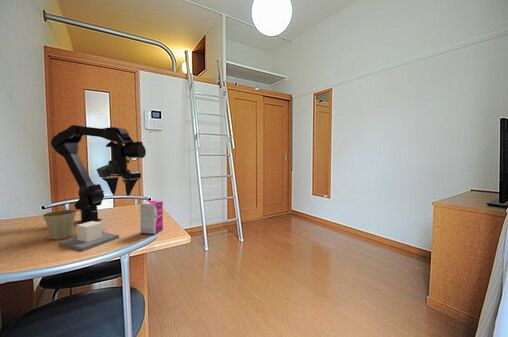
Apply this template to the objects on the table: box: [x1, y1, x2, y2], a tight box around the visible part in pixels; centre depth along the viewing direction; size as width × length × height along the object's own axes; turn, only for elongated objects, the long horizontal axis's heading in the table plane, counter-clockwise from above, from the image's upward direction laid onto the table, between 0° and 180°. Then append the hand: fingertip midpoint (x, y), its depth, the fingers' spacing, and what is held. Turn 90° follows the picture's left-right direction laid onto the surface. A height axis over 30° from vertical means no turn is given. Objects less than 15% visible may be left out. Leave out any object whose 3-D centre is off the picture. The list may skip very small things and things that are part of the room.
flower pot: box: [41, 209, 78, 241], centre depth 83 cm, size 9×9×9 cm
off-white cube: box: [76, 221, 103, 242], centre depth 79 cm, size 5×5×5 cm
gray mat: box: [58, 231, 120, 252], centre depth 79 cm, size 12×12×1 cm
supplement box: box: [139, 200, 164, 236], centre depth 88 cm, size 6×6×12 cm
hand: (120, 194), depth 99 cm, fingers open, 9 cm apart
